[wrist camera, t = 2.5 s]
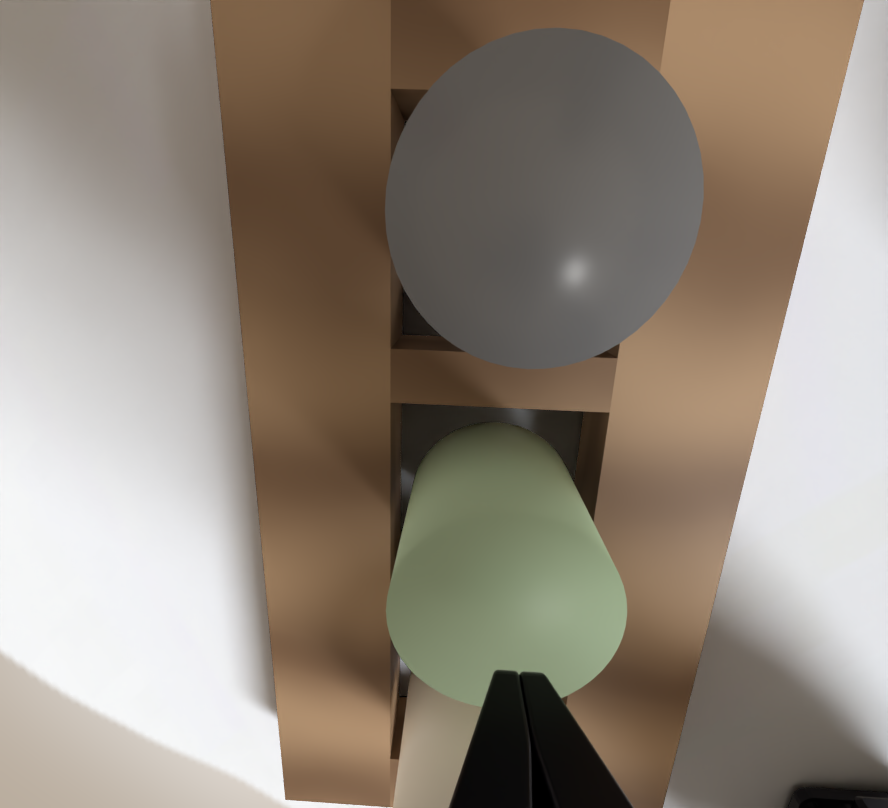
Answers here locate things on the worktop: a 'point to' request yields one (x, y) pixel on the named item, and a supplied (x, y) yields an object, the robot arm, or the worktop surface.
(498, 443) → the pale green cylinder
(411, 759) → the cream cylinder
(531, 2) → the wooden compartment tray
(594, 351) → the grey short cylinder
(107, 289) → the worktop surface
